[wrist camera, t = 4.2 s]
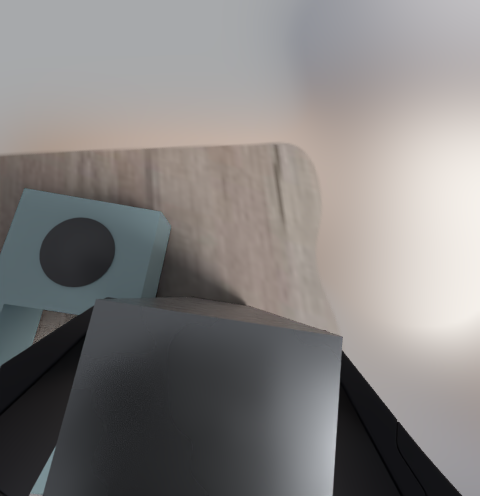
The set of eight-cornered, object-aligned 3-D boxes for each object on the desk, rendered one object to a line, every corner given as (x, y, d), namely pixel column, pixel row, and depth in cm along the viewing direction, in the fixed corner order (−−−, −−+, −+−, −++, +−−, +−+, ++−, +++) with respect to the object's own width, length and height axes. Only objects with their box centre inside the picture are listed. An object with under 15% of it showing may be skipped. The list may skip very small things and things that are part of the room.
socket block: (120, 457, 14) (92, 501, 11) (-18, 440, 14) (-85, 481, 11) (171, 226, 17) (160, 211, 14) (59, 207, 16) (23, 187, 13)
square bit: (240, 370, 15) (321, 655, 3) (177, 361, 15) (5, 630, 3) (249, 306, 16) (341, 336, 4) (190, 296, 16) (96, 299, 4)
